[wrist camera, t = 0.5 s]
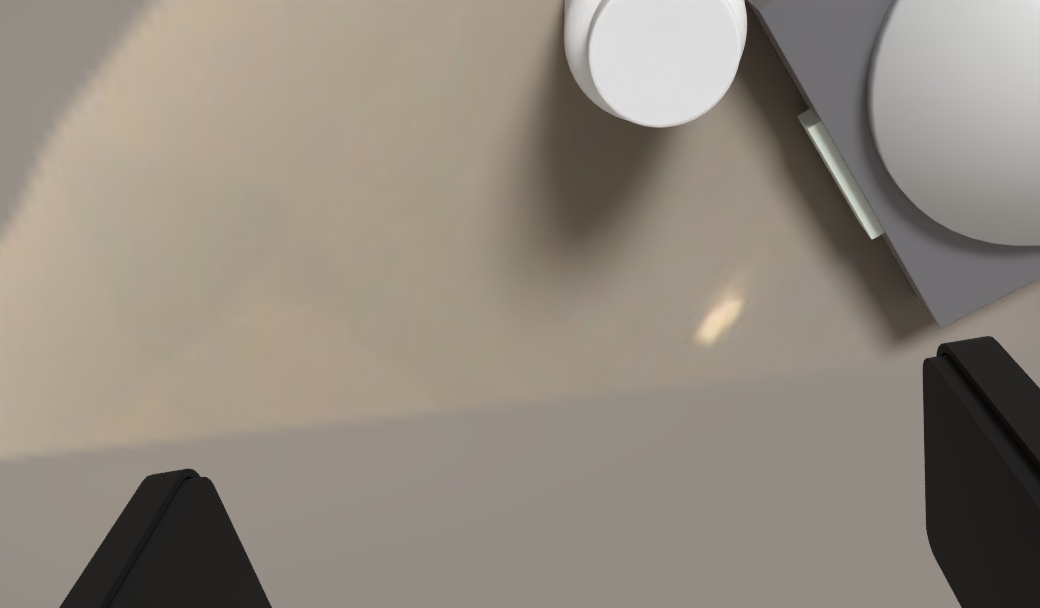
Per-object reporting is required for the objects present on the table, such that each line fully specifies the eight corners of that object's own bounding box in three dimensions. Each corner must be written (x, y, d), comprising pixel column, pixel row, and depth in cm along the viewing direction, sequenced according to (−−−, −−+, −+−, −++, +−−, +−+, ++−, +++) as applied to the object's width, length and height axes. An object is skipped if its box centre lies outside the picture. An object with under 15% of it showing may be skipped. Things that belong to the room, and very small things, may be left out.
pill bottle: (702, 83, 32) (745, 163, 24) (558, 71, 32) (553, 146, 24) (729, -76, 29) (787, -45, 22) (572, -89, 29) (573, -63, 22)
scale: (1167, -287, 26) (1242, -303, 23) (1296, 99, 31) (1371, 126, 28) (732, 7, 31) (749, 24, 28) (905, 304, 35) (935, 345, 33)
